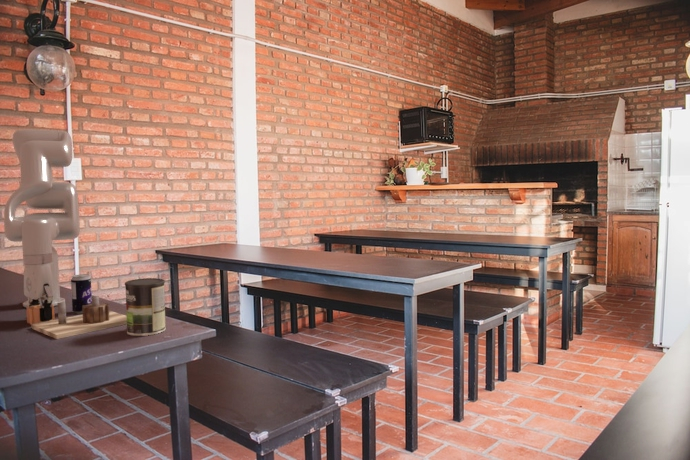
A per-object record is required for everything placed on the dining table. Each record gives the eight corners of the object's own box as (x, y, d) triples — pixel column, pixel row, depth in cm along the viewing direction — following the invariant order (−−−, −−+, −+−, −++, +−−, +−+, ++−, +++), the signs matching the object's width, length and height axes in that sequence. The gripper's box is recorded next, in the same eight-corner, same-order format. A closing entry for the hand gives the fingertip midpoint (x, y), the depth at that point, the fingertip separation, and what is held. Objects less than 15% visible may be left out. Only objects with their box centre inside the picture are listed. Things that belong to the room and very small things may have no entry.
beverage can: (84, 314, 162) (82, 277, 161) (68, 313, 163) (66, 276, 162) (96, 310, 167) (94, 274, 166) (81, 309, 168) (79, 273, 168)
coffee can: (133, 338, 136) (131, 286, 134) (121, 330, 143) (119, 280, 142) (171, 331, 142) (170, 281, 141) (158, 324, 150) (156, 276, 149)
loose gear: (21, 323, 151) (20, 308, 151) (41, 317, 158) (41, 303, 158) (40, 325, 149) (39, 310, 149) (60, 319, 156) (59, 304, 156)
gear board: (31, 328, 146) (29, 299, 145) (107, 313, 163) (106, 287, 162) (56, 339, 135) (55, 307, 135) (135, 322, 152) (134, 294, 152)
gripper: (12, 258, 155) (16, 316, 156) (35, 263, 144) (39, 325, 145) (39, 256, 161) (42, 312, 162) (63, 260, 150) (66, 320, 151)
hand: (41, 318), depth 154 cm, fingers closed on loose gear, 7 cm apart
